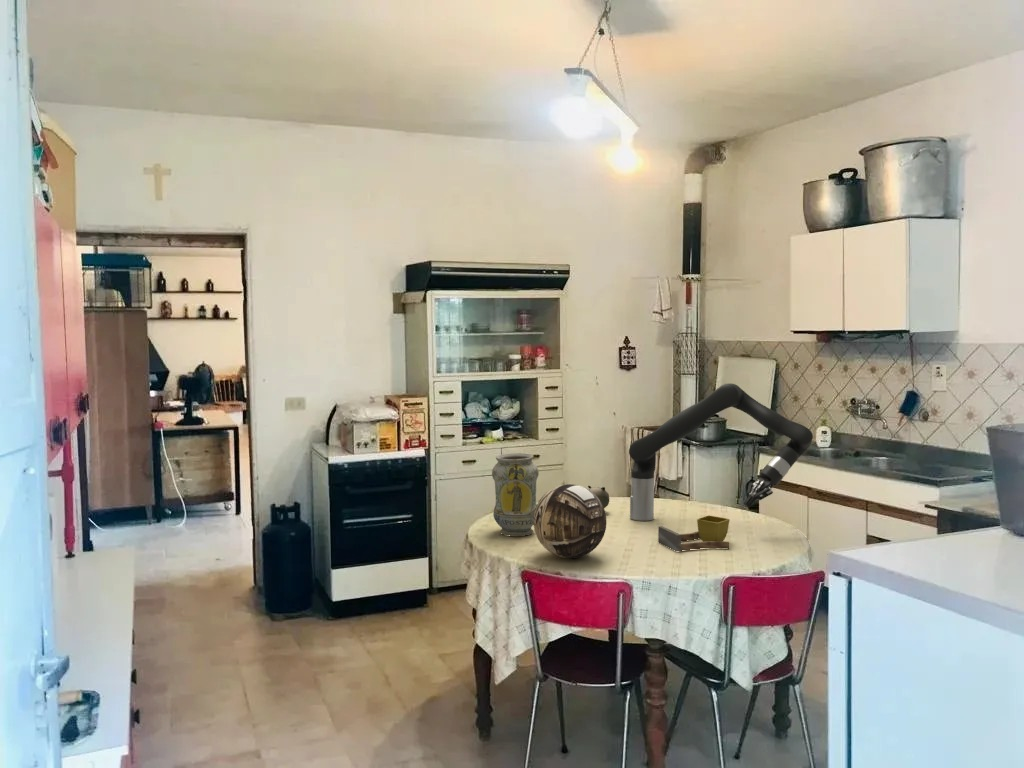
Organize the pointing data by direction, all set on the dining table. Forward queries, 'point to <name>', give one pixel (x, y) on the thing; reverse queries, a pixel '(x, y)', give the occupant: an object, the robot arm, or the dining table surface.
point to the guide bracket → (674, 540)
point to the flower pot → (712, 528)
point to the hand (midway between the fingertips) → (746, 505)
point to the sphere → (569, 521)
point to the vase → (515, 493)
